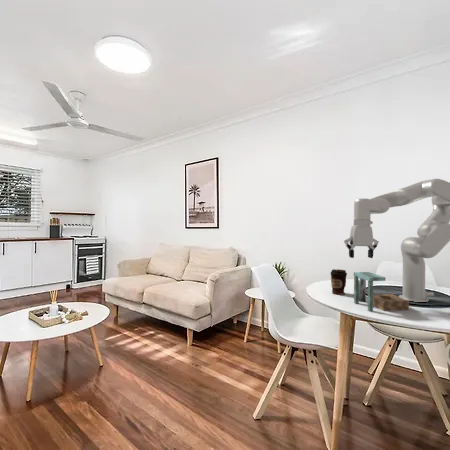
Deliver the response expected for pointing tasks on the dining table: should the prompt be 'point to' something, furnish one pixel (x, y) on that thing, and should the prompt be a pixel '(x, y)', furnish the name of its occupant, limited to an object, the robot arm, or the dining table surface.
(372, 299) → the socket station
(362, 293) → the peg
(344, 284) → the coffee cup
